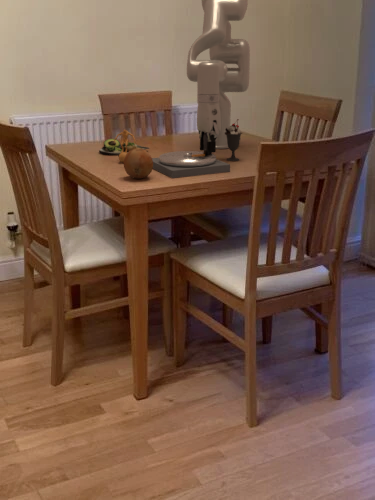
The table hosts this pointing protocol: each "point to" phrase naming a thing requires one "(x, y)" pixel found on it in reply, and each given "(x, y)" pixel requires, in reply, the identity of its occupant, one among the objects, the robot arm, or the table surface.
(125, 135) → the figurine
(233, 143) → the sundae
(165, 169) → the instrument base
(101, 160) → the table surface
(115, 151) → the avocado toast plate
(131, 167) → the onion
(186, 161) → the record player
